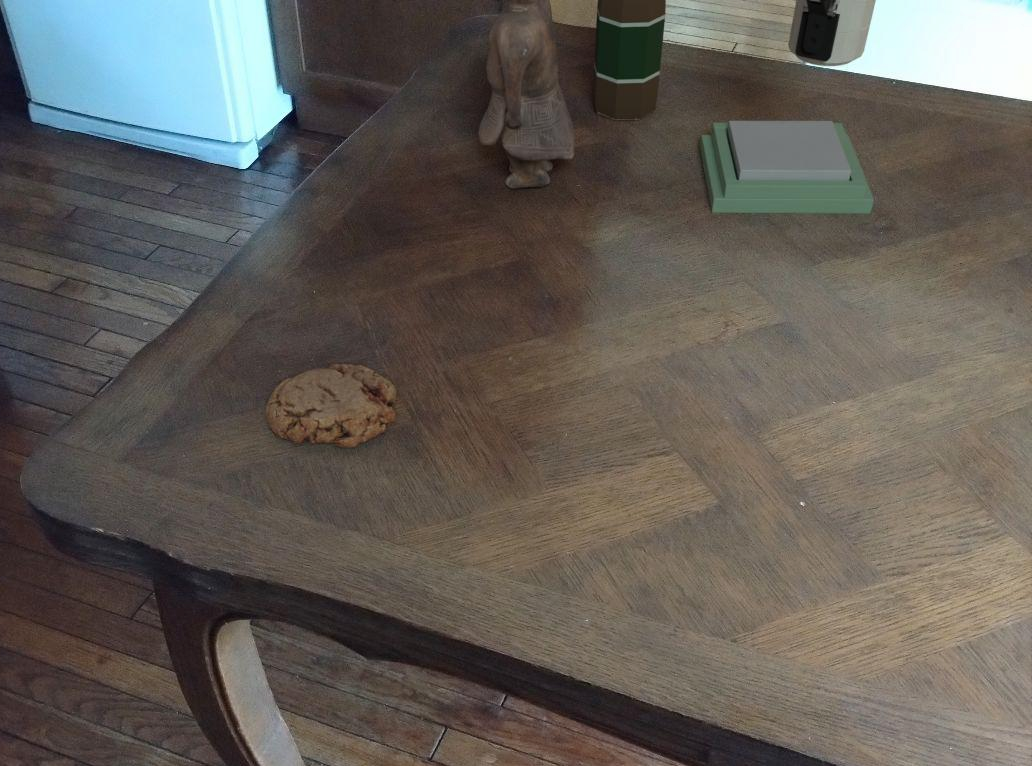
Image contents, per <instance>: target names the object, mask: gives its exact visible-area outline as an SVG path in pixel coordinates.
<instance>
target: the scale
mask: <svg viewBox="0 0 1032 766" xmlns="http://www.w3.org/2000/svg"><path fill="white" fill-rule="evenodd" d="M728 123H729V122H713V123H712V126H711V133H710V134H701V136H700V143H699V152H700V151H701V152H700V157H702V158H701V163H702V162H703V163H702V167H703V173H704V178H705V183H706V189H707V194H708V199H709V205H710V210H711V213H712V214H820V215H821V214H822V215H823V214H824V215H825V214H827V215H829V214H830V215H831V214H833V215H835V214H837V215H838V214H839V215H841V214H843V215H845V214H846V215H850V214H851V215H871V214H872V209H873V205H874V202H875V198H874V196H873V193H872V191H871V188H870V186H869V183H868V181H867V179H866V176H865V173H864V170H863V168H862V166H861V164H860V160H859V158H858V156H857V153H856V151H855V148H854V146H853V143H852V140H851V138H850V136H849V135H848V134H847V133H846V131H845V128H844V126H843V123H842V122H833V125H834V127H835V130H836V132H837V135H838V138H839V140H840V143H841V145H842V148H843V151H844V153H845V156H846V158H847V161H848V164H849V166H850V169H851V174H850V178H849V181H829V180H738V177H737V173H736V168H735V164H734V160H733V155H732V151H731V147H730V142H729V138H728V134H727V130H728Z"/></svg>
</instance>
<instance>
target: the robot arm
mask: <svg viewBox="0 0 1032 766" xmlns="http://www.w3.org/2000/svg"><path fill="white" fill-rule="evenodd" d="M839 3H840V0H805V1H804V5H803V13H802V18H801V24H800V29H799V34H798V40H797V45H796V50H795V53H796V55H797V56H801V57H806V58H810V59H815V60H820V61H825V62H826V61H828V60H829V59H830V58H831V55H832V50H833V45H834V41H835V36H836V31H837V26H838V22H839V17H840V14H837V13H836V12H837V9H838V6H839ZM796 55H795V56H796Z"/></svg>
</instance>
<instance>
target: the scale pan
mask: <svg viewBox="0 0 1032 766" xmlns="http://www.w3.org/2000/svg"><path fill="white" fill-rule="evenodd" d="M727 123H728V130H727V134H728V138H729V142H730V147H731V151H732V155H733V160H734V164H735V168H736V173H737V177H738V180H829V181H849V178H850V174H851V169H850V166H849V164H848V161H847V158H846V156H845V153H844V151H843V148H842V145H841V143H840V140H839V138H838V135H837V132H836V130H835V127H834V125H833V123H834V122H833V121H832V120H728V122H727Z"/></svg>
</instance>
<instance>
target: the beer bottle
mask: <svg viewBox="0 0 1032 766" xmlns="http://www.w3.org/2000/svg"><path fill="white" fill-rule="evenodd" d="M666 7H667V0H597V5H596V23H595V40H594V41H595V43H594V61H593V82H592V99H593V100H592V101H593V105H594V110H596V111H598V112H600V113H602V114H605V115H607V116H609V117H611V118H614V119H635V118H637V119H640V118H641V117H643V116H645V115H647V114H649V113H650V112H652V111H654V110H655V111H656V107H657V103H658V96H659V95H658V94H659V85H660V75H661V63H662V55H663V54H662V53H663V42H664V34H665V33H664V32H665V24H666V23H665V22H666V9H667V8H666ZM596 111H595V112H596ZM655 111H654V112H655ZM597 115H598V116H600V117H604V116H602V115H599V114H597ZM650 115H651V114H649V115H647V116H645V117H644V118H646V117H648V116H650ZM604 118H606V119H609V118H607V117H604ZM609 120H611V121H613V122H616V121H615V120H612V119H609ZM640 120H641V119H640ZM629 121H632V122H633V121H634V122H635V121H636V120H622V121H621V122H629Z"/></svg>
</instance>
